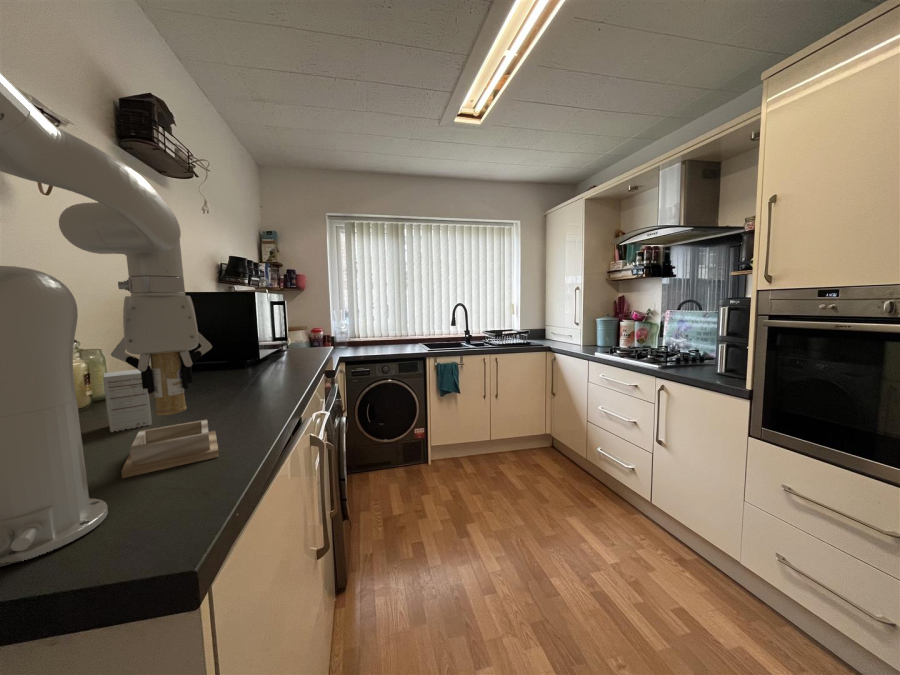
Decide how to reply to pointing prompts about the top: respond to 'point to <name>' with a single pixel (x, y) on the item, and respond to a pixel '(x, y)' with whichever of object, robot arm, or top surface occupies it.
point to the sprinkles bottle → (168, 383)
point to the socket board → (170, 447)
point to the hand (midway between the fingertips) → (169, 388)
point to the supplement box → (126, 400)
